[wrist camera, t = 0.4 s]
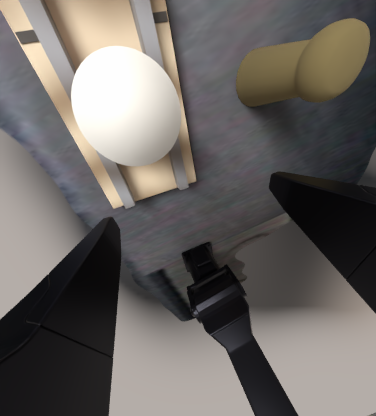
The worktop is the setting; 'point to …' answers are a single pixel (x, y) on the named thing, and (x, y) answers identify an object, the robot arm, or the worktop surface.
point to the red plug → (126, 106)
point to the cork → (305, 66)
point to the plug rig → (78, 51)
